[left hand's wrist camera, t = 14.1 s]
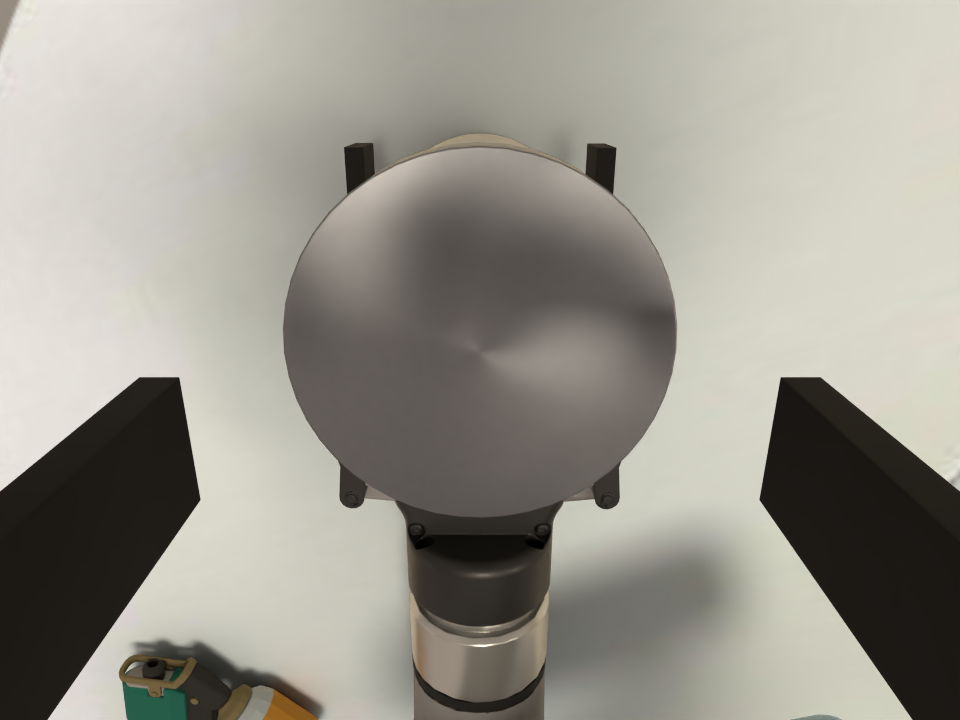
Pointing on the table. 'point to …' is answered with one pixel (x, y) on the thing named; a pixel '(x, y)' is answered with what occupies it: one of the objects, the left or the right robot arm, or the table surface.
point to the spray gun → (197, 694)
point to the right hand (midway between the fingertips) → (480, 145)
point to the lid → (480, 330)
